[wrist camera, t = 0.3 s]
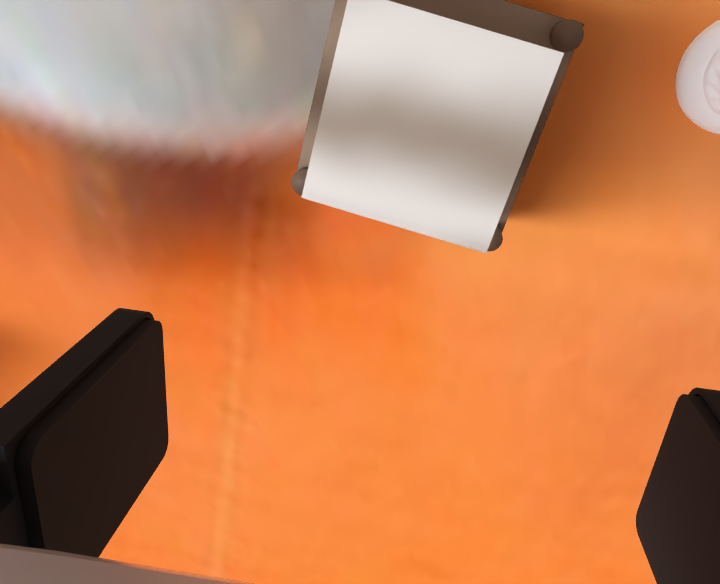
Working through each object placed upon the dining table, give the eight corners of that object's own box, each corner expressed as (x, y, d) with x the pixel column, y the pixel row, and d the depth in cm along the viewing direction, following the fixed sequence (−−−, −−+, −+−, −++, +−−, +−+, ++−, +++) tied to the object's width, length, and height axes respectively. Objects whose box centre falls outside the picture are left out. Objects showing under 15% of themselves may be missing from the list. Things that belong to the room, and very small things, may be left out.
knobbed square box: (361, -36, 35) (323, -64, 24) (562, 24, 34) (616, 24, 24) (313, 164, 40) (264, 217, 29) (488, 217, 40) (505, 290, 29)
